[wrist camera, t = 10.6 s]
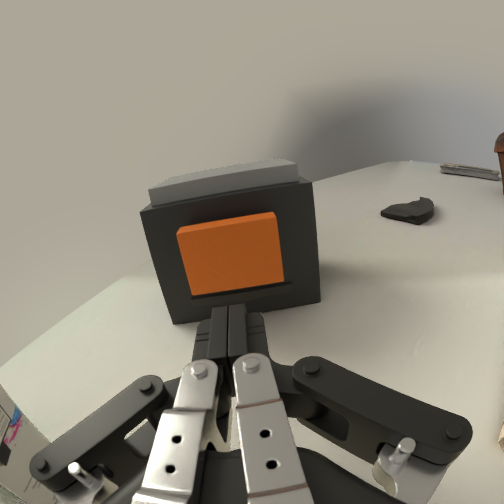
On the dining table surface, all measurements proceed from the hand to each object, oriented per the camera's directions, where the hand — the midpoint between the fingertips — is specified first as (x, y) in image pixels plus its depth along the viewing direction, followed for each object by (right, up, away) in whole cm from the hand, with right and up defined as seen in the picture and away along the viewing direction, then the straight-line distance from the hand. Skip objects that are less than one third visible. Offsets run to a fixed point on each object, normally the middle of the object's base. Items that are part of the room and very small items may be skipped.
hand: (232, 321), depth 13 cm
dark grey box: (0, -1, +17) cm, 17 cm away
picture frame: (+80, +31, +64) cm, 107 cm away
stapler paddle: (0, +1, +9) cm, 9 cm away
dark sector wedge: (+30, +10, +32) cm, 45 cm away
